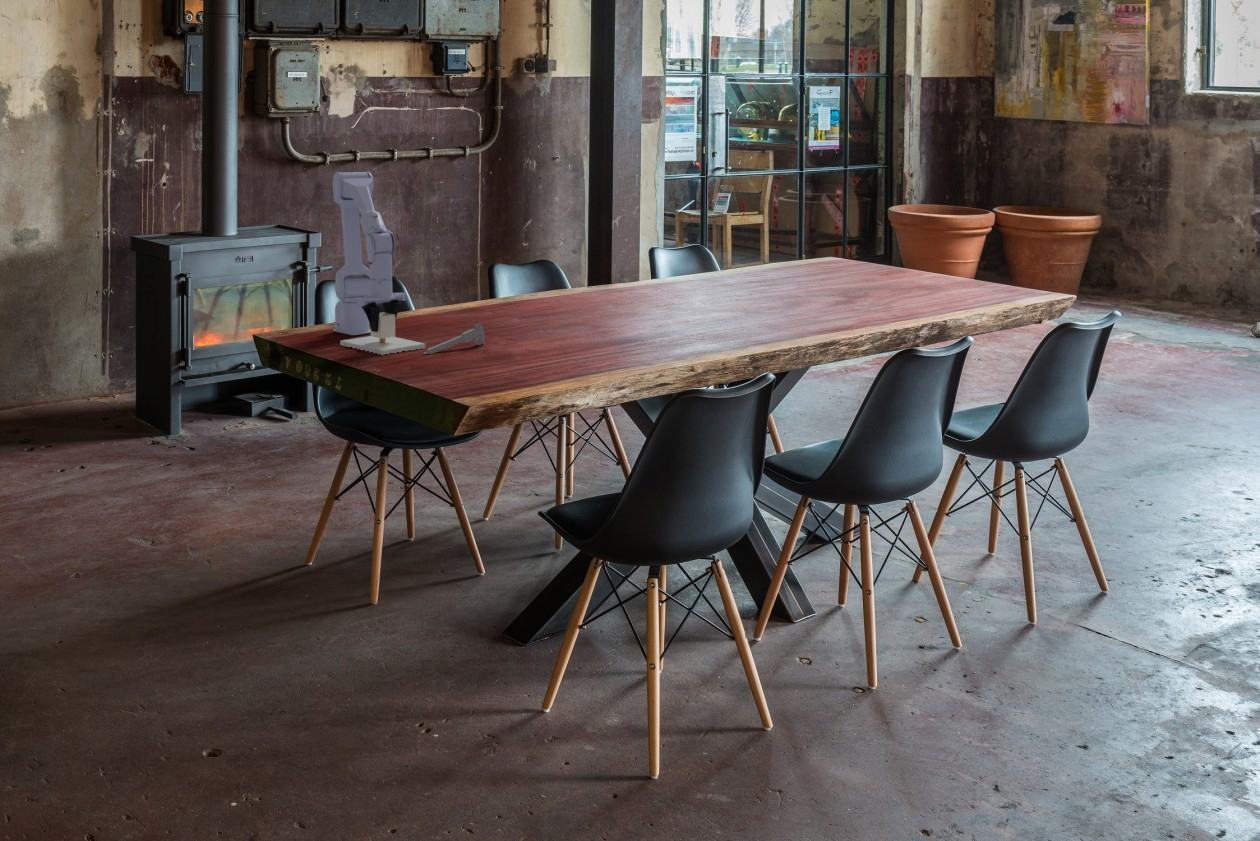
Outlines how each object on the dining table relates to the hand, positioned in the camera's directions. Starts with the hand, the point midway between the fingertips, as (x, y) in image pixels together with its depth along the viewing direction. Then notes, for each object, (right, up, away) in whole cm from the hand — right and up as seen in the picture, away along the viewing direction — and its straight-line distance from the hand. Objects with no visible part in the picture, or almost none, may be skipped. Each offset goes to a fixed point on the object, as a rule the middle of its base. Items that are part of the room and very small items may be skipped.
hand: (382, 330), depth 368 cm
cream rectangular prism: (0, -2, 0) cm, 2 cm away
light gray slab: (0, -4, +1) cm, 4 cm away
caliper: (+19, -5, 0) cm, 20 cm away
